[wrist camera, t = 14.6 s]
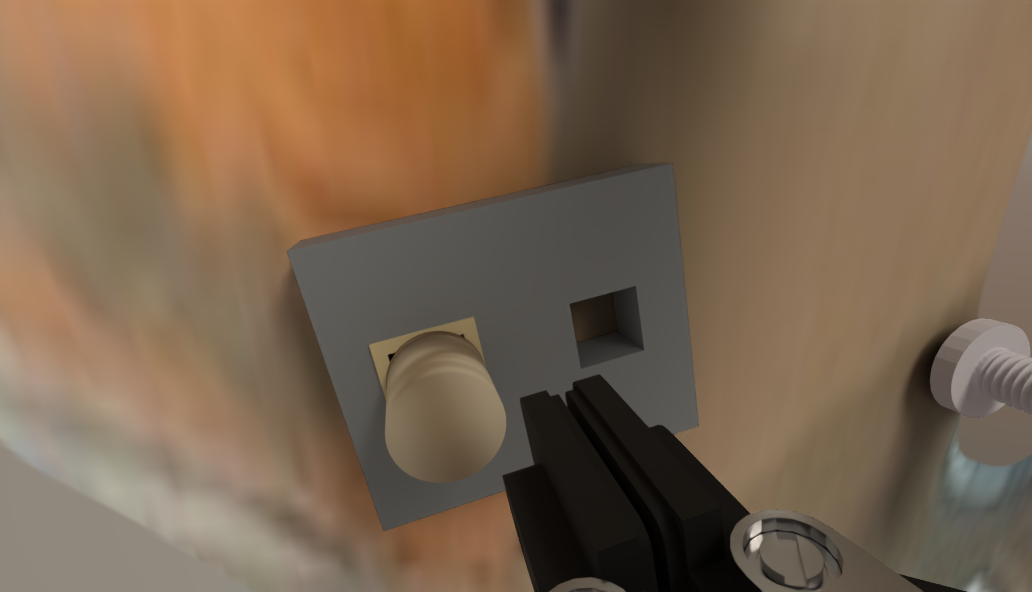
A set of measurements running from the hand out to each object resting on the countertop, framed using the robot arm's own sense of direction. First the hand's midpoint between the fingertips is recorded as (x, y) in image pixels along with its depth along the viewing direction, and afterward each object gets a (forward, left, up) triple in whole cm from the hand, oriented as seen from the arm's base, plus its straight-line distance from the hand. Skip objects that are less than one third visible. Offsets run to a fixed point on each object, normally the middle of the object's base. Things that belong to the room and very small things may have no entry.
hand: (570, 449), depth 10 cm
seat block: (-3, +6, -22) cm, 23 cm away
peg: (+3, +6, -22) cm, 23 cm away
